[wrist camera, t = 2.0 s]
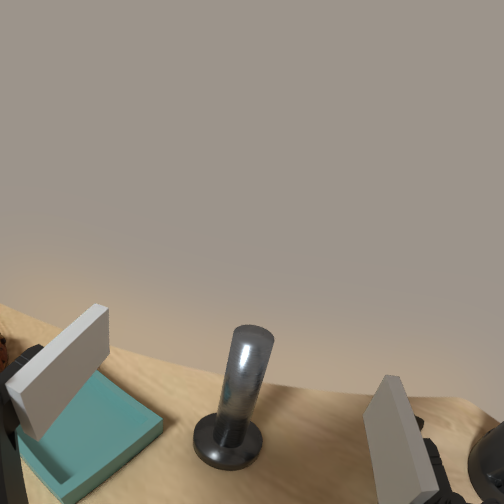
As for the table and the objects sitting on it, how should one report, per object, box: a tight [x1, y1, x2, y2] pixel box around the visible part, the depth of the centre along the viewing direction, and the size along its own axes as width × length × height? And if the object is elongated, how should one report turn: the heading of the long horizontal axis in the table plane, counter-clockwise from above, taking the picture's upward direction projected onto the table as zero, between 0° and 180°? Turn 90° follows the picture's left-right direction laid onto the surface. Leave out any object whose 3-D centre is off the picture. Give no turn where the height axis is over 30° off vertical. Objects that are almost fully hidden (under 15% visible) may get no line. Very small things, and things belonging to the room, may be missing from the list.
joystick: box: [193, 325, 274, 471], centre depth 27 cm, size 7×7×14 cm
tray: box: [16, 370, 163, 504], centre depth 25 cm, size 14×14×2 cm
